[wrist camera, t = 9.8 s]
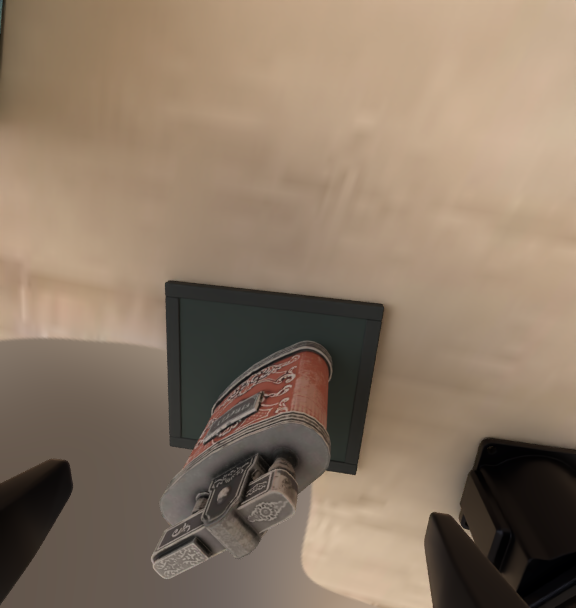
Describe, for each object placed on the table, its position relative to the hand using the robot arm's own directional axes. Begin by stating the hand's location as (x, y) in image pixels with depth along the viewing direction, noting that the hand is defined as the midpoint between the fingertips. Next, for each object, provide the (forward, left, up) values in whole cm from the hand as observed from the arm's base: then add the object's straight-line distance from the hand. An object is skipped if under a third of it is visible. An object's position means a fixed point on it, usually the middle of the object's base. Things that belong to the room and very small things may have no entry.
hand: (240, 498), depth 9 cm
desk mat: (+1, +4, -12) cm, 13 cm away
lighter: (+1, +4, -12) cm, 13 cm away
